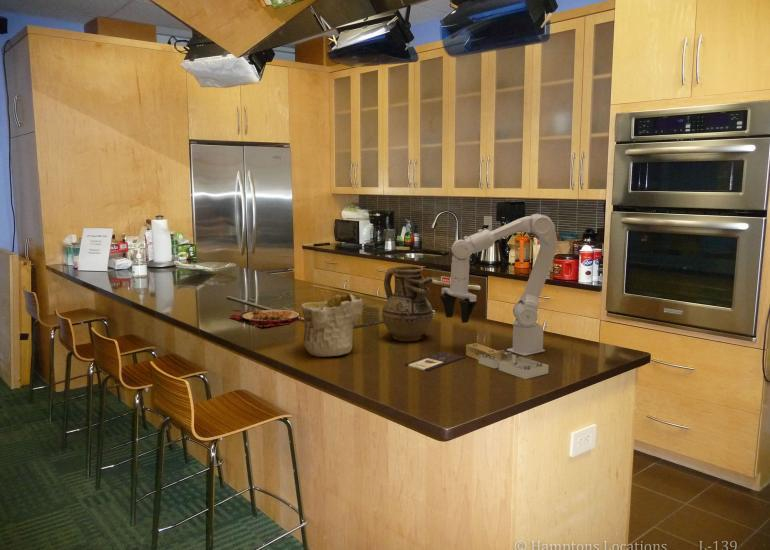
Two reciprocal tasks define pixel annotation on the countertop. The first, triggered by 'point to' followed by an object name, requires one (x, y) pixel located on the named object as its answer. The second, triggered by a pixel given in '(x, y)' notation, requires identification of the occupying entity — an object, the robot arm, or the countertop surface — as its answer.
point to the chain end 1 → (493, 362)
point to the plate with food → (268, 317)
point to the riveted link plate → (481, 351)
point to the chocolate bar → (434, 361)
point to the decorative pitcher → (407, 303)
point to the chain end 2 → (524, 368)
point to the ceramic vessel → (330, 325)
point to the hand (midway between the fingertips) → (456, 319)
